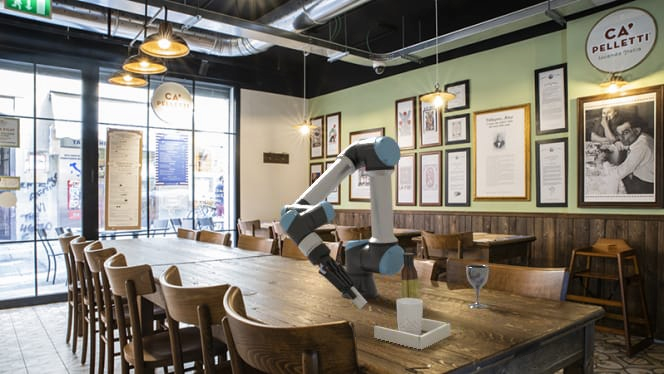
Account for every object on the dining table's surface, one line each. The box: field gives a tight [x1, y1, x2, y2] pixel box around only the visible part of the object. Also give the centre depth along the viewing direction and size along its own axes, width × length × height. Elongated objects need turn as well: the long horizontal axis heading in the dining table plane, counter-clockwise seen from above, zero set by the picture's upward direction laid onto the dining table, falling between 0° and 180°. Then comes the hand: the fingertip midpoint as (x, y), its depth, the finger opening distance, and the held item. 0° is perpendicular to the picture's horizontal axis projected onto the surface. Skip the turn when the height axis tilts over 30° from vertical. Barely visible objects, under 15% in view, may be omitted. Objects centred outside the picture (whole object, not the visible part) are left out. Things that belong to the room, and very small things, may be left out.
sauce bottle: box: [400, 252, 420, 299], centre depth 168 cm, size 7×6×20 cm
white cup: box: [396, 297, 424, 336], centre depth 135 cm, size 8×8×10 cm
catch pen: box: [373, 317, 451, 351], centre depth 132 cm, size 16×17×4 cm
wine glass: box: [466, 264, 489, 309], centre depth 169 cm, size 8×8×15 cm
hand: (363, 305), depth 139 cm, fingers closed
